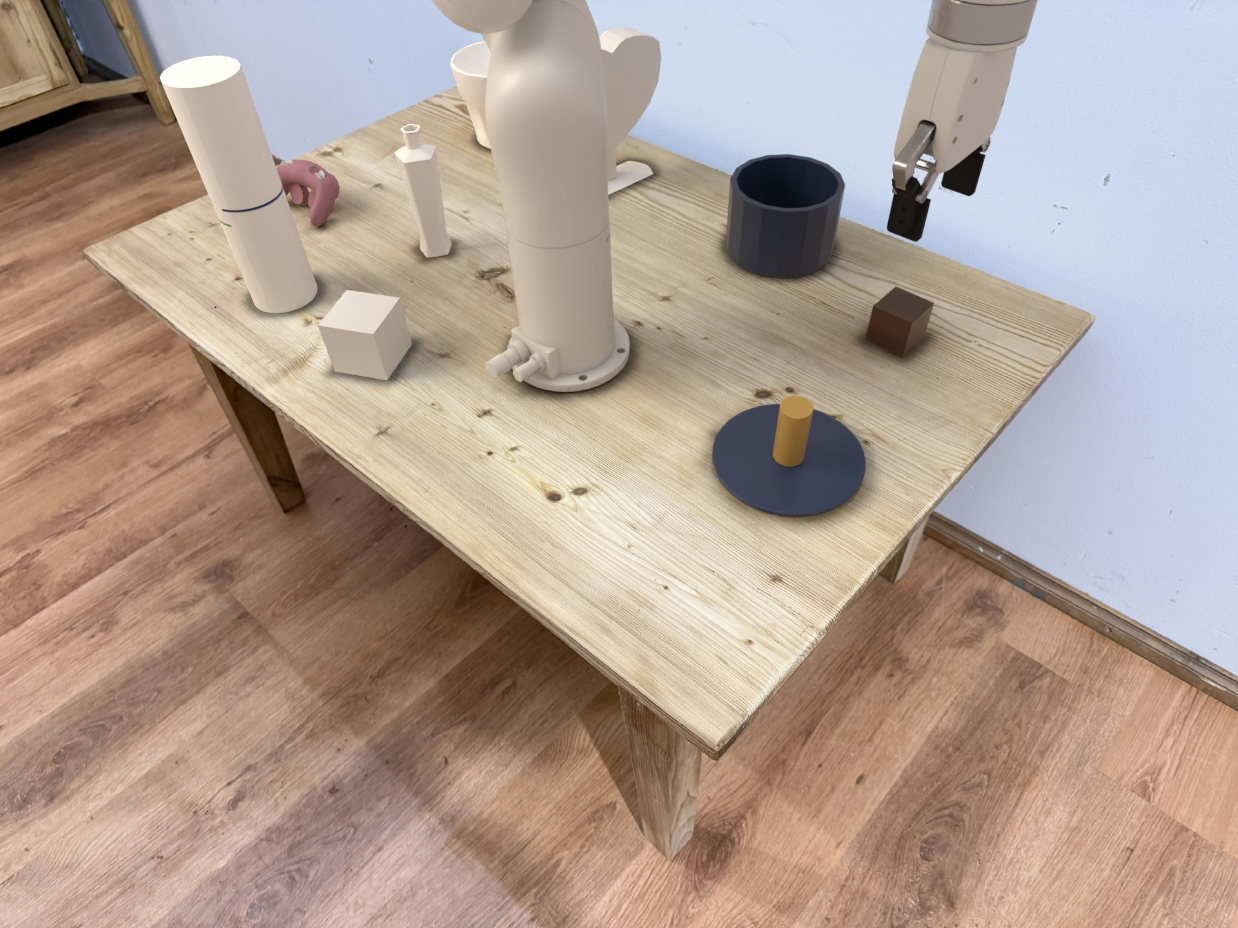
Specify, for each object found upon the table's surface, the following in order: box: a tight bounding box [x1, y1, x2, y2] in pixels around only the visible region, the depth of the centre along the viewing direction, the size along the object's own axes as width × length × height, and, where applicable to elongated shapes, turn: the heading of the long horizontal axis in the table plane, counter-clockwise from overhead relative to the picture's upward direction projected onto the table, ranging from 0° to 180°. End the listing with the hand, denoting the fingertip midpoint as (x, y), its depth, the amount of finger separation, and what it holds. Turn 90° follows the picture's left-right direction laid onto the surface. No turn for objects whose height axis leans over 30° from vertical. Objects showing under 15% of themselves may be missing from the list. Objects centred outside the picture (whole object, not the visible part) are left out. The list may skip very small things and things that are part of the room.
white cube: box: [317, 289, 413, 381], centre depth 87 cm, size 6×6×6 cm
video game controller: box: [276, 159, 340, 227], centre depth 108 cm, size 10×5×7 cm, turn 58°
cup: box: [449, 40, 491, 150], centre depth 117 cm, size 12×12×11 cm
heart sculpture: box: [599, 26, 662, 196], centre depth 105 cm, size 16×5×18 cm, turn 131°
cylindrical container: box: [159, 55, 318, 314], centre depth 88 cm, size 7×7×25 cm
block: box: [865, 285, 935, 358], centre depth 87 cm, size 4×4×4 cm
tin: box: [725, 153, 846, 279], centre depth 97 cm, size 12×12×8 cm
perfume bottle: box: [394, 123, 453, 259], centre depth 97 cm, size 5×4×15 cm
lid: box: [711, 395, 867, 519], centre depth 74 cm, size 14×14×7 cm
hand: (931, 212), depth 78 cm, fingers open, 9 cm apart
